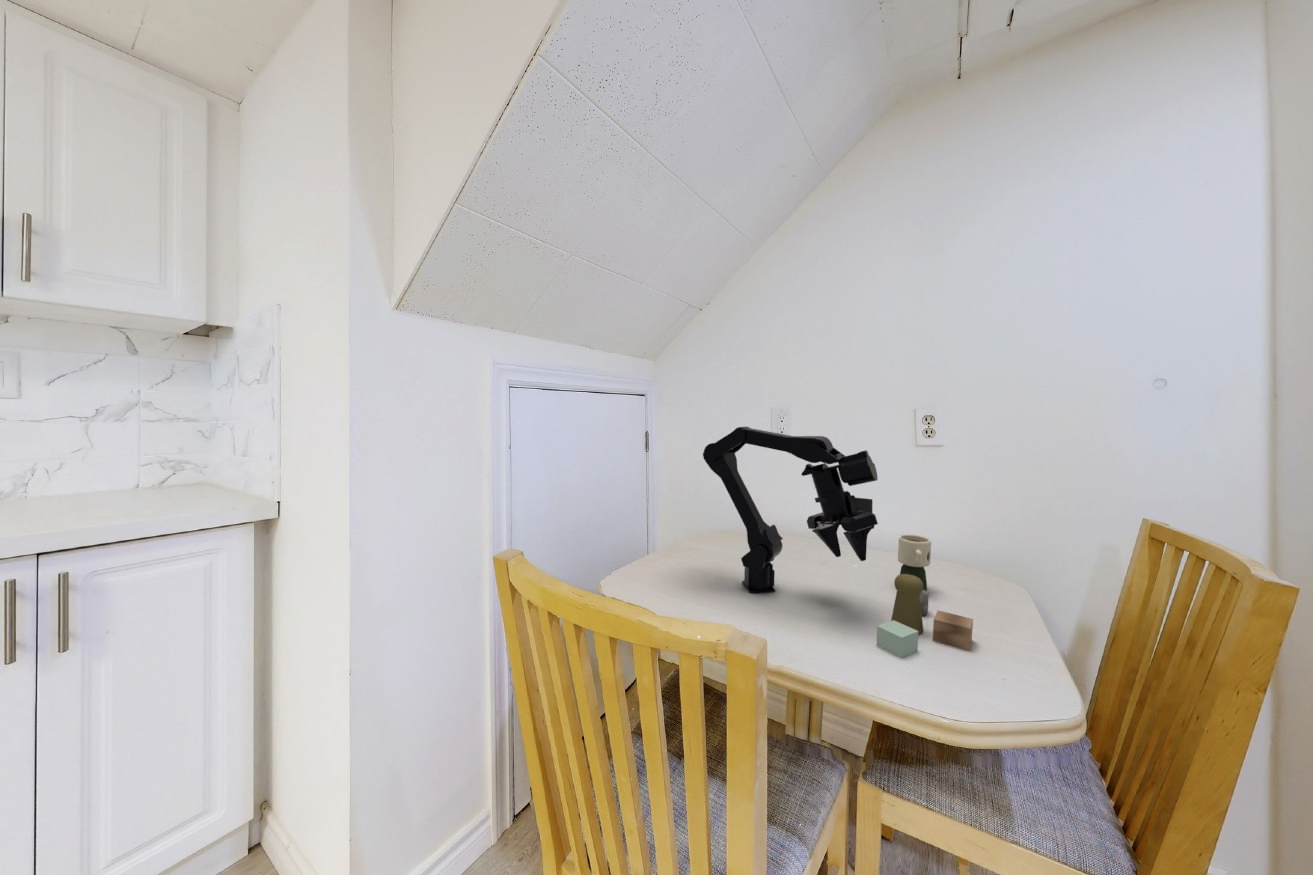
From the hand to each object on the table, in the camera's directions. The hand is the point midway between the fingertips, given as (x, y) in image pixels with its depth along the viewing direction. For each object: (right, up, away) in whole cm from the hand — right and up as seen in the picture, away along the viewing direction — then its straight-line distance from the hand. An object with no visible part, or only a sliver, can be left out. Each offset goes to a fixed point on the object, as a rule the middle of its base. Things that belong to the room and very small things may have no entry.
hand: (850, 558), depth 103 cm
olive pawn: (+8, -13, -7) cm, 17 cm away
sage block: (+2, -13, -15) cm, 20 cm away
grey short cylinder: (+15, -12, +1) cm, 19 cm away
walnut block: (+15, -13, -12) cm, 23 cm away
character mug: (+21, -11, +13) cm, 27 cm away
